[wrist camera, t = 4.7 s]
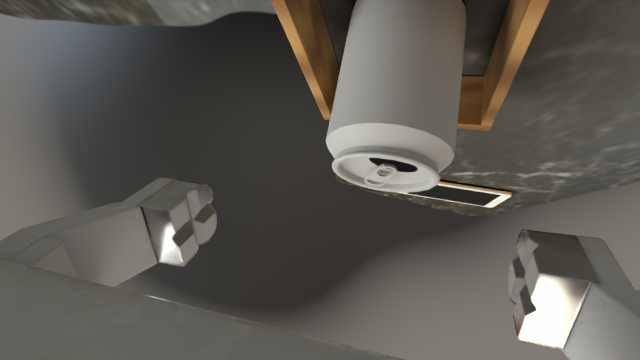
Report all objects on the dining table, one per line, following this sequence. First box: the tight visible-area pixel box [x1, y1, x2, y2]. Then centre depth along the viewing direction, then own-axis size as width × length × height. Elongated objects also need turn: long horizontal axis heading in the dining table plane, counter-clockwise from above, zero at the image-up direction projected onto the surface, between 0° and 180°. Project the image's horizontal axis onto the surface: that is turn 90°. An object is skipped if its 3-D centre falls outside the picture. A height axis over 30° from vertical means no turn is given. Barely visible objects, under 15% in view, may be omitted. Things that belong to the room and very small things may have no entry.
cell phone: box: [398, 181, 511, 208], centre depth 57 cm, size 8×16×1 cm, turn 94°
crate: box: [271, 0, 550, 131], centre depth 24 cm, size 16×14×4 cm
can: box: [326, 0, 467, 193], centre depth 23 cm, size 8×8×12 cm
